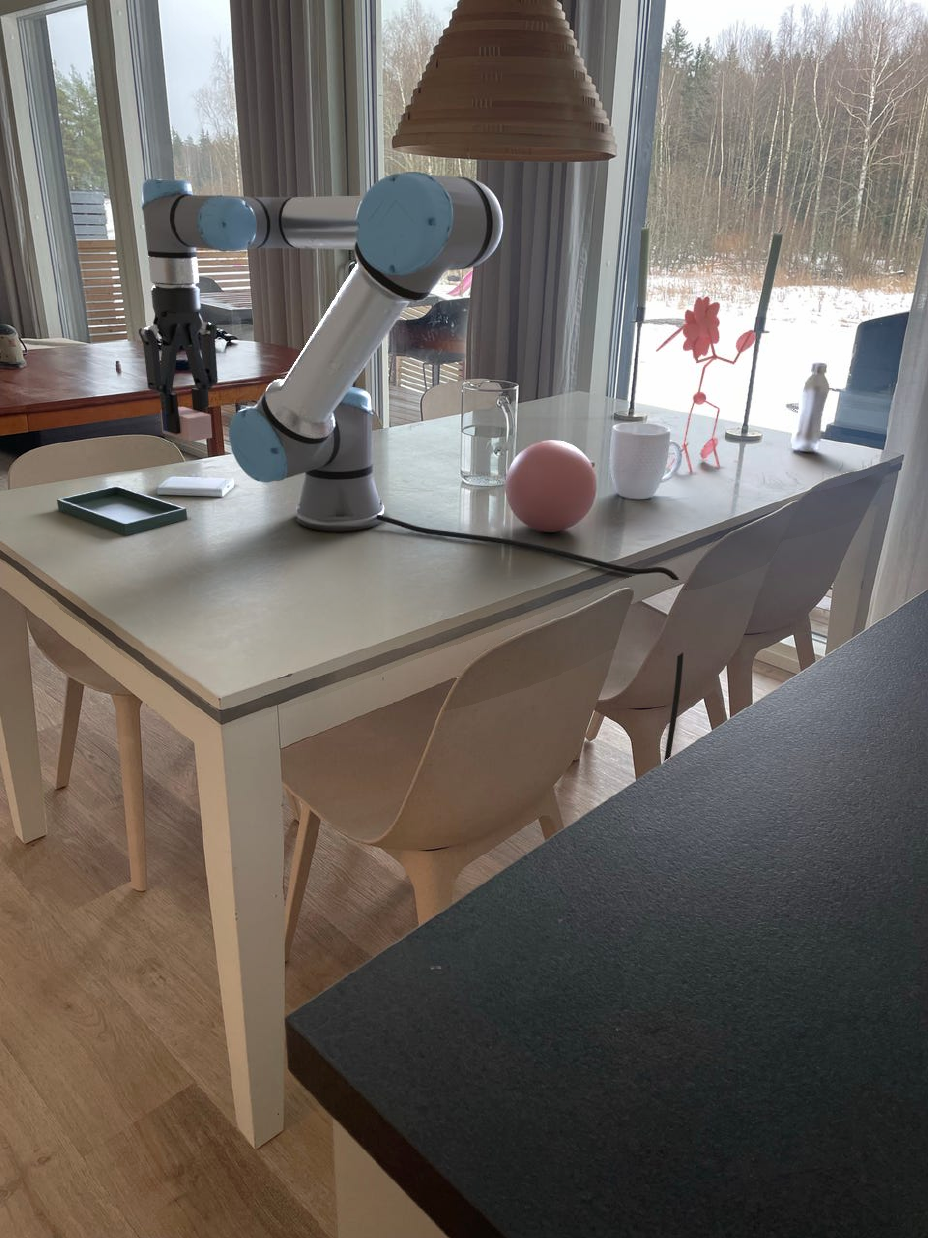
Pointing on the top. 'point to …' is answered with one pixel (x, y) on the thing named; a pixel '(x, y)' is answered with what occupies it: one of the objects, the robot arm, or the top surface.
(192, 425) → the eraser
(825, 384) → the plastic bottle
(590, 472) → the balloon
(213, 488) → the hard drive
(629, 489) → the mug
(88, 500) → the tray
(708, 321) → the figurine
